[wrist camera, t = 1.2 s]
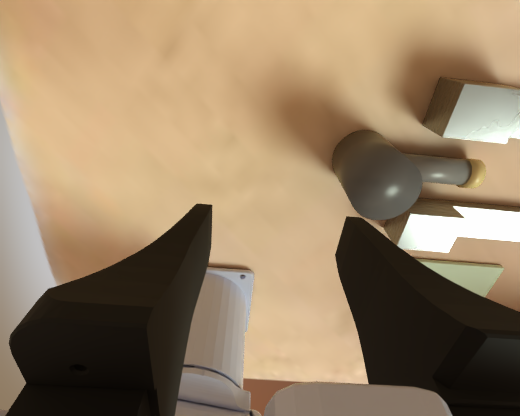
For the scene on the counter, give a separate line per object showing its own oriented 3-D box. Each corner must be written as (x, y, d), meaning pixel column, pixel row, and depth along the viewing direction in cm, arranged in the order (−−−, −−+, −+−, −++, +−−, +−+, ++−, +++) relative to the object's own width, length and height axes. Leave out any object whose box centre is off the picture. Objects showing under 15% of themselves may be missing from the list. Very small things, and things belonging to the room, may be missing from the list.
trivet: (387, 313, 30) (389, 317, 29) (413, 258, 26) (415, 261, 26) (465, 318, 30) (468, 322, 30) (501, 265, 27) (504, 268, 26)
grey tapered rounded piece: (326, 181, 22) (342, 217, 18) (339, 127, 20) (360, 153, 16) (454, 192, 23) (498, 230, 19) (478, 141, 21) (535, 170, 17)
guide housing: (383, 228, 25) (396, 248, 22) (440, 77, 19) (464, 83, 17) (523, 240, 25) (549, 260, 23) (619, 97, 20) (666, 106, 17)
